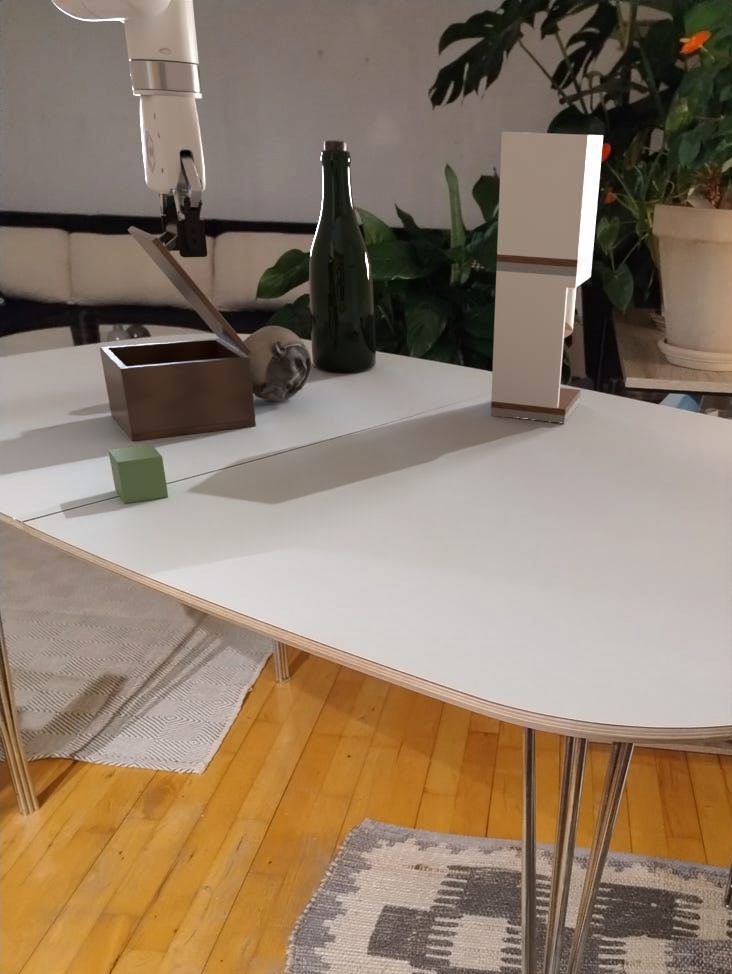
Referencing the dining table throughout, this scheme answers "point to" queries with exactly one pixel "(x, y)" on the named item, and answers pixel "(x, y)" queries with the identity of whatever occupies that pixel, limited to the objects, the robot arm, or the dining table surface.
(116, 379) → the chest
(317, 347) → the dark green glass bottle
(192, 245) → the robot arm
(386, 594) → the dining table surface
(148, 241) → the chest door
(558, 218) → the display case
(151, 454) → the block
